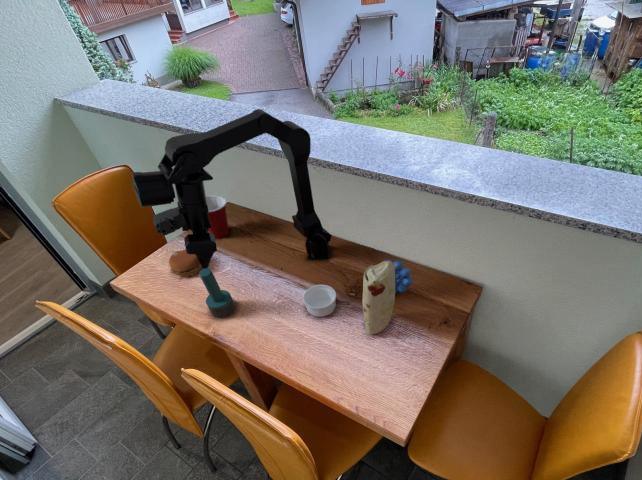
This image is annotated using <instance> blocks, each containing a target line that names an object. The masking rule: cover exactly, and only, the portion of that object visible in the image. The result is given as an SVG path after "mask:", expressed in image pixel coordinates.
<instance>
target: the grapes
mask: <svg viewBox="0 0 642 480" xmlns="http://www.w3.org/2000/svg"><path fill="white" fill-rule="evenodd" d="M384 261H390V262H392V263H393V264H394V267H395V294H396V293H398V292H399V293H406V292H407V291H408V287H411V286H412V285H413V283H414V281H413V278H412V277H411V274H412V271H411V269H410V268H409V267H404V264H403V262H402V261H400V260H394V261H392V260H391V259H388V258H387V259H383V261H382V262H384Z"/></svg>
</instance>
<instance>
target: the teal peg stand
mask: <svg viewBox="0 0 642 480" xmlns="http://www.w3.org/2000/svg"><path fill="white" fill-rule="evenodd" d="M198 276H199V277H200V279H201V281H202V283H203V285H204V287H205V289H206V291H207V293H208V295H207V297H206V298H205V304H206V306H207V308H208V309H209V312H210V313H211V315H212V316H213V317H214V318H216V319H225V318H228V317H230V316H231V315H232V314H234V312H235V311H236V304H235V302H234V299H233V297H232V295H231V293H230V291H228V290H226V289H221V288H220V285H219V283H218V281H217V278H216V277H215V275H214V273H213V270H212V269H211V268H209V267H208V268H205V269H203V268H202V269H201V270H200V271H199V272H198Z"/></svg>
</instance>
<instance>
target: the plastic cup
mask: <svg viewBox="0 0 642 480" xmlns="http://www.w3.org/2000/svg"><path fill="white" fill-rule="evenodd" d="M206 201H207V206H208V211H209V212H208V213H209V220H210V224H211V228H209V229H208V233H211V234H212V235H214V237H215V239H221V238H225V237H227V235H228V234H229V230H230V229H229V225H228V224H229V223H228V217H227V199H226V198H225V197H224V196H219V195H206Z"/></svg>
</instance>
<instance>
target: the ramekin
mask: <svg viewBox="0 0 642 480" xmlns="http://www.w3.org/2000/svg"><path fill="white" fill-rule="evenodd" d="M302 300H303V303H304V304H305V307H306V309H307V313H309V314H310V315H312V316H315V317H318V318H319V317H326V316H329V315H330V314H331V313H333V312H334V310H335V309H336V306H337V305H336V304H337V301H336V300H337V292H336V290H335V288H333V287H332V286H330V285H327V284H315V285H313V286H310V287H308V288H307V289H306V290H305V292H304V293H303V296H302Z"/></svg>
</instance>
